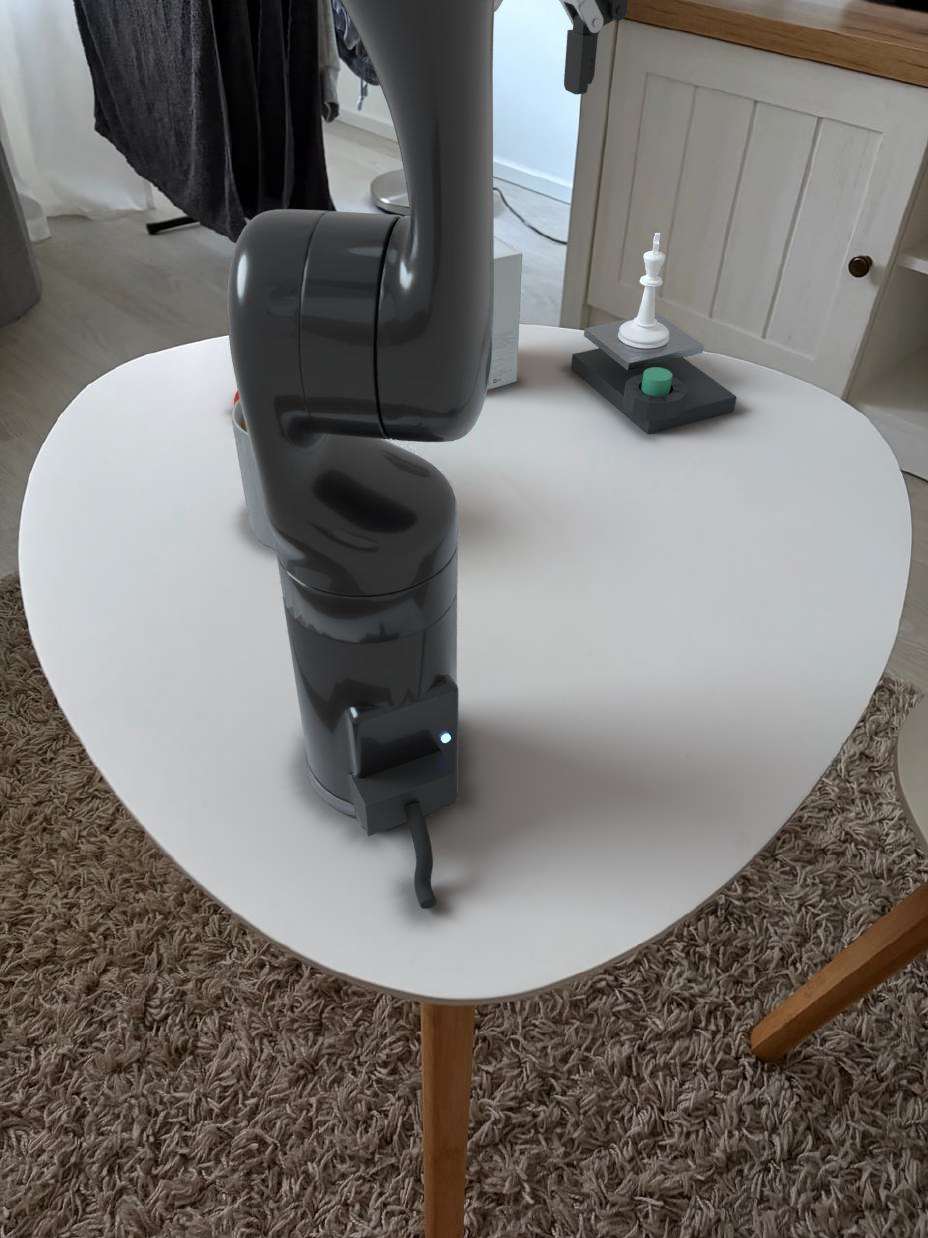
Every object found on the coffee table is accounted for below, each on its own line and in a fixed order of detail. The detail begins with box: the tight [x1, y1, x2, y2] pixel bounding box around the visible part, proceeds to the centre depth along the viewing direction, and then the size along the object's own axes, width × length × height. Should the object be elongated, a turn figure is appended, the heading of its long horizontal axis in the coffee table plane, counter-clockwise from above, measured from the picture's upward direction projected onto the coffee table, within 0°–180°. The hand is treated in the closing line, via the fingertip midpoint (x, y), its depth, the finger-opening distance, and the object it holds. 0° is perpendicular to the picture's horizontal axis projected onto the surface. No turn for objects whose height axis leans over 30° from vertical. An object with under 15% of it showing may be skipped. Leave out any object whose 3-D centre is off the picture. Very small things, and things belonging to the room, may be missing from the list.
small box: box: [487, 235, 523, 391], centre depth 95 cm, size 8×6×13 cm
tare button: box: [641, 367, 672, 396], centre depth 90 cm, size 3×3×2 cm
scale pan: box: [583, 312, 705, 370], centre depth 96 cm, size 8×9×1 cm
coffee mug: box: [231, 398, 276, 551], centre depth 79 cm, size 13×10×10 cm
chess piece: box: [618, 232, 669, 349], centre depth 92 cm, size 5×5×10 cm
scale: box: [570, 347, 738, 435], centre depth 95 cm, size 15×11×4 cm
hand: (522, 97), depth 69 cm, fingers open, 8 cm apart
